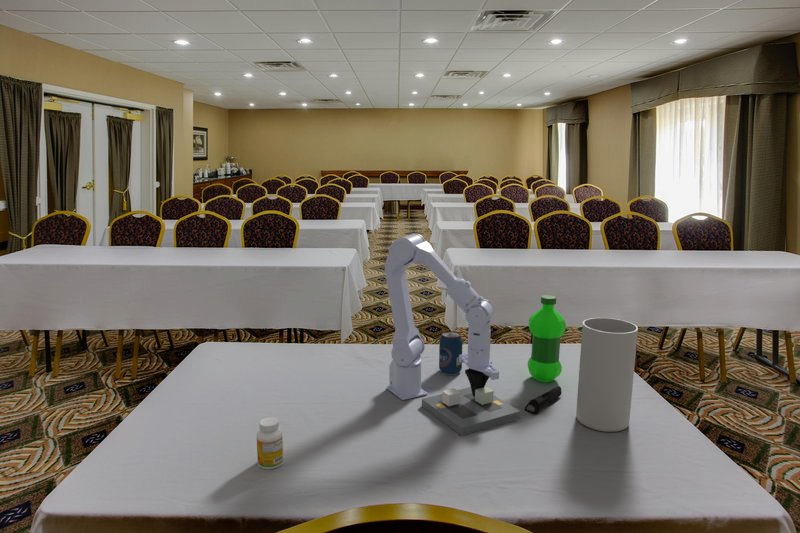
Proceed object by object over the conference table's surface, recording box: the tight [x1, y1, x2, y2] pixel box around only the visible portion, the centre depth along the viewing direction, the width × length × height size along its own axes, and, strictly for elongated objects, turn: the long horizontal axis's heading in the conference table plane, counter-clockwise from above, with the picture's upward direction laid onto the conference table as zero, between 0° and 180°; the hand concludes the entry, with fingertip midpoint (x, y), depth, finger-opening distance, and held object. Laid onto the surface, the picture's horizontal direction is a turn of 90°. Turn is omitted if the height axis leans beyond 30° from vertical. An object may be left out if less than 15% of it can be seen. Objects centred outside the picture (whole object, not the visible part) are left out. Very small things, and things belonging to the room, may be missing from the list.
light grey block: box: [441, 387, 461, 406], centre depth 146 cm, size 3×4×3 cm
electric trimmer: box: [524, 385, 562, 415], centre depth 151 cm, size 4×16×3 cm, turn 137°
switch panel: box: [421, 386, 521, 436], centre depth 146 cm, size 18×18×2 cm
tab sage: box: [475, 386, 494, 405], centre depth 147 cm, size 3×4×3 cm
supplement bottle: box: [256, 417, 284, 470], centre depth 121 cm, size 5×5×10 cm
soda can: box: [438, 330, 463, 376], centre depth 172 cm, size 7×7×12 cm
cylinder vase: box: [575, 317, 639, 433], centre depth 139 cm, size 12×12×25 cm
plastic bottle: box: [527, 294, 567, 383], centre depth 165 cm, size 10×10×25 cm
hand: (477, 395), depth 150 cm, fingers closed
